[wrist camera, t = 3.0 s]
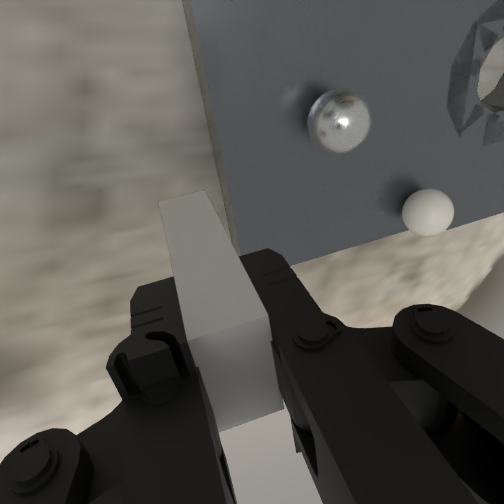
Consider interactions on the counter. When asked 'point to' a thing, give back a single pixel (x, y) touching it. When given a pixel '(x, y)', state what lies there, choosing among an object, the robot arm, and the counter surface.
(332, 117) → the steel ball
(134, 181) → the counter surface
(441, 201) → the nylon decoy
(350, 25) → the grey flat block
